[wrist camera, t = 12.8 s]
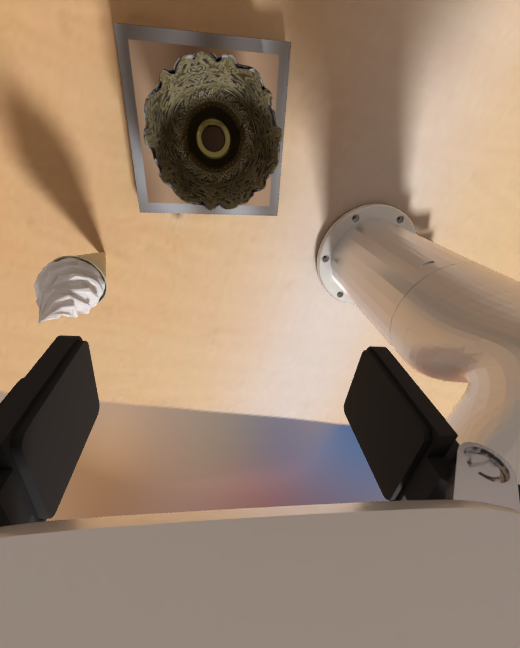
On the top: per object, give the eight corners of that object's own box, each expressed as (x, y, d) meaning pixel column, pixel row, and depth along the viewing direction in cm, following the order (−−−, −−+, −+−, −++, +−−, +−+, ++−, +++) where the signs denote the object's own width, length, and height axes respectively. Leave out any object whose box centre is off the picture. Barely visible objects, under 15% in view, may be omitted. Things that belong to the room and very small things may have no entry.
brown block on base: (285, 47, 28) (311, 19, 21) (274, 211, 35) (289, 230, 28) (119, 30, 26) (87, -9, 19) (143, 208, 33) (126, 227, 26)
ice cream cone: (72, 231, 33) (-14, 290, 20) (122, 231, 34) (69, 289, 21) (84, 275, 35) (14, 353, 23) (130, 275, 36) (88, 350, 23)
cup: (271, 176, 25) (294, 190, 19) (186, 203, 26) (178, 227, 19) (246, 62, 21) (263, 27, 15) (145, 94, 22) (116, 75, 15)
